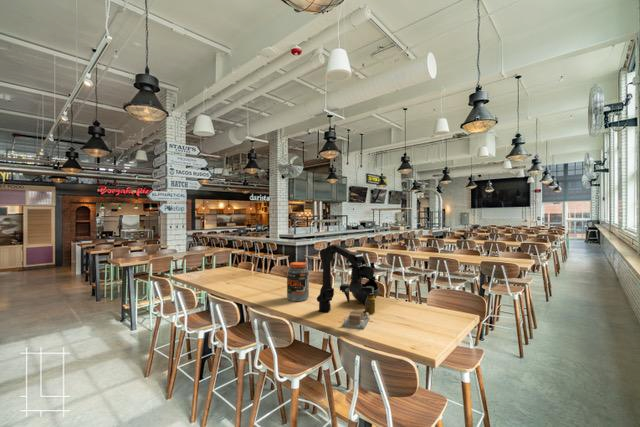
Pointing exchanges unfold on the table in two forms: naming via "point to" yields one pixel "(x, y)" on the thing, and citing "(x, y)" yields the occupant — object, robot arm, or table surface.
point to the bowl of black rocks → (361, 294)
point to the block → (356, 317)
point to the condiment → (370, 305)
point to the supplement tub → (298, 281)
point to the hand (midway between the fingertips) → (356, 303)
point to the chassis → (361, 326)
